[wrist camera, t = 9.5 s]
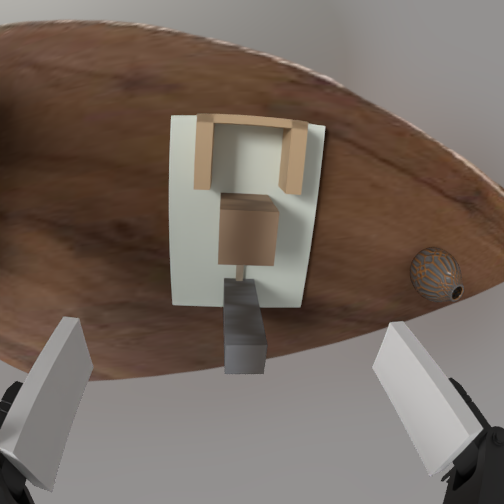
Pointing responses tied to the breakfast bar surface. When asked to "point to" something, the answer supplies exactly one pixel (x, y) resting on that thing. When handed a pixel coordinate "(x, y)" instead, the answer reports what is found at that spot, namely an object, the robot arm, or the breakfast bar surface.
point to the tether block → (238, 289)
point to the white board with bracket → (247, 182)
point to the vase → (436, 275)
